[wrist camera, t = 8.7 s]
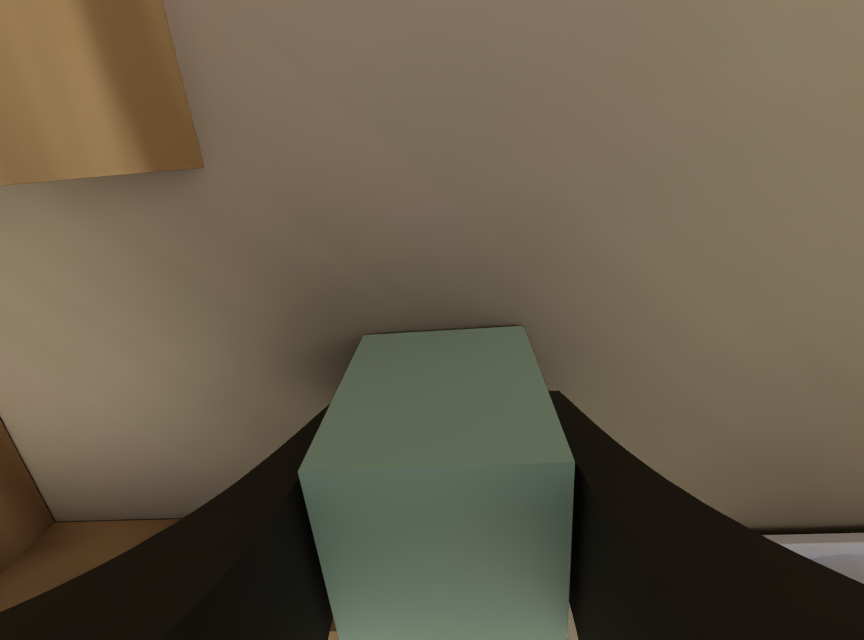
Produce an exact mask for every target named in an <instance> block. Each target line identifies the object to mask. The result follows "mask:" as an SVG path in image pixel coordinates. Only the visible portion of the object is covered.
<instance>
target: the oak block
mask: <svg viewBox="0 0 864 640" xmlns="http://www.w3.org/2000/svg"><path fill="white" fill-rule="evenodd" d="M201 167H204V164H203V160H202V156H201V152H200V148H199V144H198V141H197V137H196V133H195V129H194V125H193V121H192V117H191V113H190V109H189V105H188V101H187V97H186V93H185V89H184V85H183V81H182V77H181V74H180V70H179V66H178V62H177V58H176V54H175V50H174V46H173V42H172V38H171V34H170V30H169V26H168V22H167V18H166V14H165V10H164V7H163V3H162V0H0V185H11V184H23V183H34V182H45V181H56V180H67V179H78V178H90V177H101V176H112V175H123V174H134V173H145V172H156V171H168V170H179V169H190V168H201Z"/></svg>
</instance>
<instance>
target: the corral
mask: <svg viewBox="0 0 864 640" xmlns="http://www.w3.org/2000/svg"><path fill="white" fill-rule="evenodd" d="M179 520H181V519H163V520H129V521H94V522H59V523H55V522H54V520H53V518H52V516H51V514H50V512H49V511H48V509H47V507H46V505H45V503H44V501H43V499H42V497H41V495H40V494H39V492H38V490H37V488H36V486H35V484H34V482H33V480H32V478H31V476H30V475H29V473H28V471H27V469H26V467H25V465H24V463H23V461H22V459H21V458H20V456H19V454H18V452H17V450H16V448H15V446H14V444H13V442H12V441H11V439H10V437H9V435H8V433H7V431H6V429H5V427H4V425H3V424H2V422H1V420H0V612H1V611H4V610H6V609H8V608H11V607H13V606H15V605H17V604H20V603H22V602H24V601H26V600H29V599H31V598H33V597H36V596H38V595H40V594H42V593H44V592H46V591H48V590H50V589H53V588H55V587H57V586H59V585H61V584H63V583H65V582H67V581H69V580H71V579H73V578H75V577H77V576H79V575H81V574H83V573H85V572H87V571H89V570H91V569H93V568H95V567H97V566H99V565H101V564H103V563H105V562H107V561H109V560H111V559H113V558H114V557H116V556H118V555H120V554H122V553H124V552H126V551H128V550H129V549H131V548H133V547H135V546H136V545H138V544H140V543H142V542H143V541H145V540H147V539H148V538H150V537H152V536H154V535H155V534H157V533H159V532H160V531H162V530H164V529H166V528H167V527H169V526H171V525H172V524H174V523H176V522H177V521H179ZM328 640H339V638H338V634H337V630H336V626H335V622H334V618H333V620H332V624H331V628H330V633H329V638H328Z"/></svg>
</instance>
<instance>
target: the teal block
mask: <svg viewBox="0 0 864 640" xmlns="http://www.w3.org/2000/svg"><path fill="white" fill-rule="evenodd" d="M574 474H575V461H574V458H573V456H572V453H571V450H570V448H569V445H568V442H567V440H566V437H565V434H564V432H563V429H562V427H561V424H560V421H559V419H558V416H557V413H556V411H555V408H554V405H553V403H552V400H551V397H550V395H549V392H548V390H547V387H546V384H545V382H544V379H543V376H542V374H541V371H540V368H539V366H538V363H537V361H536V358H535V355H534V353H533V350H532V347H531V345H530V342H529V339H528V337H527V334H526V331H525V329H524V326H511V327H494V328H476V329H459V330H442V331H425V332H407V333H390V334H373V335H363V337H362V339H361V341H360V343H359V345H358V348H357V350H356V352H355V354H354V356H353V358H352V360H351V362H350V364H349V366H348V368H347V370H346V372H345V375H344V377H343V379H342V381H341V383H340V385H339V387H338V389H337V391H336V393H335V395H334V397H333V400H332V402H331V404H330V406H329V408H328V410H327V412H326V414H325V416H324V418H323V420H322V422H321V424H320V427H319V429H318V431H317V433H316V435H315V437H314V439H313V441H312V443H311V445H310V447H309V449H308V452H307V454H306V456H305V458H304V460H303V462H302V464H301V466H300V468H299V470H298V475H299V479H300V483H301V487H302V491H303V495H304V499H305V503H306V507H307V511H308V516H309V520H310V524H311V528H312V532H313V536H314V540H315V544H316V548H317V552H318V556H319V561H320V565H321V569H322V573H323V577H324V581H325V585H326V589H327V593H328V597H329V601H330V606H331V610H332V614H333V618H334V622H335V626H336V630H337V634H338V638H339V640H567V631H568V609H569V586H570V564H571V541H572V519H573V496H574Z"/></svg>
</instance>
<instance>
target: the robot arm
mask: <svg viewBox="0 0 864 640" xmlns="http://www.w3.org/2000/svg"><path fill="white" fill-rule="evenodd" d="M548 392H549V395H550V397H551V400H552V403H553V405H554V408H555V411H556V413H557V416H558V419H559V421H560V424H561V427H562V429H563V432H564V434H565V437H566V440H567V442H568V445H569V448H570V450H571V453H572V456H573V458H574V461H575V474H574V496H573V519H572V541H571V564H570V586H569V603H570V607H571V611H572V615H573V618H574V622H575V626H576V630H577V635H578V639H579V640H864V533H834V534H792V535H760V534H758V533H757V532H755V531H753V530H751V529H749V528H747V527H746V526H744V525H742V524H740V523H738V522H736V521H735V520H733V519H731V518H729V517H727V516H725V515H724V514H722V513H720V512H718V511H717V510H715V509H713V508H712V507H710V506H708V505H706V504H705V503H703V502H701V501H700V500H698V499H697V498H695V497H694V496H692V495H690V494H689V493H687V492H686V491H684V490H683V489H681V488H679V487H678V486H676V485H675V484H673V483H672V482H670V481H668V480H667V479H666V478H664V477H663V476H661V475H660V474H658V473H657V472H655V471H654V470H653V469H651V468H650V467H648V466H647V465H646V464H644V463H643V462H642V461H640V460H639V459H638V458H636V457H635V456H634V455H632V454H631V453H630V452H628V451H627V450H626V449H625V448H623V447H622V446H621V445H620V444H618V443H617V442H616V441H615V440H613V439H612V438H611V437H610V436H609V435H607V434H606V433H605V432H604V431H603V430H602V429H600V428H599V427H598V426H597V425H596V424H595V423H594V422H592V421H591V420H590V419H589V418H588V417H587V416H586V415H585V414H584V413H583V412H581V411H580V410H579V409H578V408H577V407H576V406H575V405H574V404H573V403H572V402H571V401H570V400H568V399H567V398H566V397H565V396H564V395H563V394H562V393H561V392H560V391H548ZM329 406H330V404H329V405H328V406H327V407H326V408H325V409H323V410H322V411H321V412H320V413H319V414H318V415H317V416H315V417H314V418H313V419H312V420H311V421H310V422H309V423H308V424H306V425H305V426H304V427H303V428H302V429H301V430H300V431H298V432H297V433H296V434H295V435H294V436H293V437H292V438H290V439H289V440H288V441H287V442H286V443H285V444H283V445H282V446H281V447H280V448H279V449H278V450H276V451H275V452H274V453H273V454H271V455H270V456H269V457H268V458H266V459H265V460H264V461H263V462H261V463H260V464H259V465H258V466H256V467H255V468H254V469H253V470H251V471H250V472H249V473H248V474H246V475H245V476H244V477H242V478H241V479H240V480H239V481H237V482H236V483H234V484H233V485H232V486H230V487H229V488H228V489H226V490H225V491H223V492H222V493H221V494H219V495H218V496H216V497H215V498H213V499H212V500H210V501H209V502H207V503H206V504H204V505H203V506H201V507H200V508H198V509H197V510H195V511H194V512H192V513H191V514H189V515H187V516H186V517H184V518H183V519H181V520H179V521H177V522H176V523H174V524H172V525H171V526H169V527H167V528H166V529H164V530H162V531H160V532H159V533H157V534H155V535H154V536H152V537H150V538H148V539H147V540H145V541H143V542H142V543H140V544H138V545H136V546H135V547H133V548H131V549H129V550H128V551H126V552H124V553H122V554H120V555H118V556H116V557H114V558H113V559H111V560H109V561H107V562H105V563H103V564H101V565H99V566H97V567H95V568H93V569H91V570H89V571H87V572H85V573H83V574H81V575H79V576H77V577H75V578H73V579H71V580H69V581H67V582H65V583H63V584H61V585H59V586H57V587H55V588H53V589H50V590H48V591H46V592H44V593H42V594H40V595H38V596H36V597H33V598H31V599H29V600H26V601H24V602H22V603H20V604H17V605H15V606H13V607H11V608H8V609H6V610H4V611H1V612H0V640H328V638H329V633H330V628H331V624H332V620H333V614H332V610H331V606H330V601H329V597H328V593H327V589H326V585H325V581H324V577H323V573H322V569H321V565H320V561H319V556H318V552H317V548H316V544H315V540H314V536H313V532H312V528H311V524H310V520H309V516H308V511H307V507H306V503H305V499H304V495H303V491H302V487H301V483H300V479H299V475H298V470H299V468H300V466H301V464H302V462H303V460H304V458H305V456H306V454H307V452H308V449H309V447H310V445H311V443H312V441H313V439H314V437H315V435H316V433H317V431H318V429H319V427H320V424H321V422H322V420H323V418H324V416H325V414H326V412H327V410H328V408H329Z"/></svg>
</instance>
